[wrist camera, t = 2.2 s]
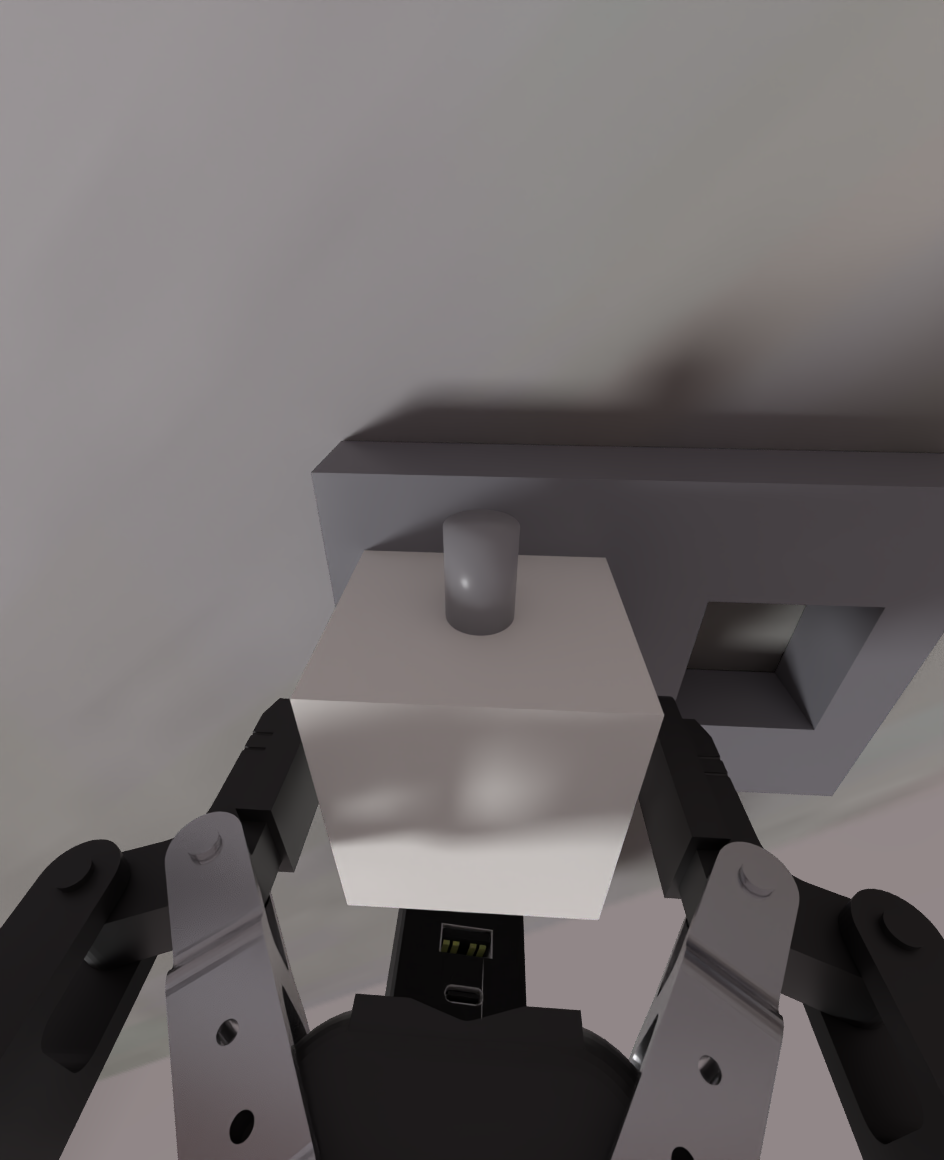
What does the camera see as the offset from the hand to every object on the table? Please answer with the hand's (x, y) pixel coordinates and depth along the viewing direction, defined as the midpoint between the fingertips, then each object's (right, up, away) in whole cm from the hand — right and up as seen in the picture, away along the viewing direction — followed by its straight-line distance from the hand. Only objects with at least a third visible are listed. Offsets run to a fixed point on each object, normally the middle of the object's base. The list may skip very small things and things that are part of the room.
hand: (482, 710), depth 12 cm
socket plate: (+4, +2, +3) cm, 6 cm away
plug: (0, +2, +3) cm, 4 cm away
